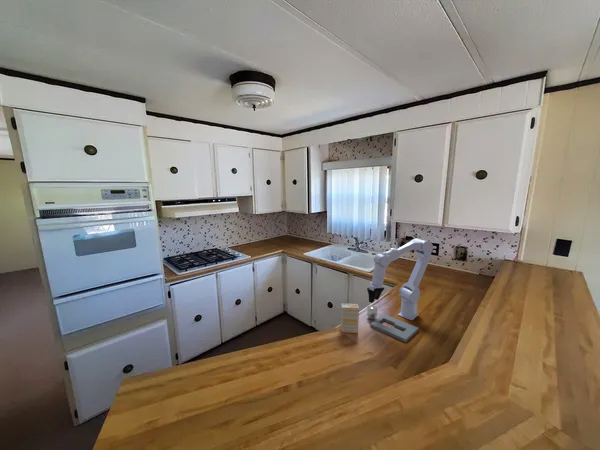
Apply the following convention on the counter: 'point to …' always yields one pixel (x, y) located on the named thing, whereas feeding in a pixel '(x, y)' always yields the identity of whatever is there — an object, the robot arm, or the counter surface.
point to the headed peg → (372, 312)
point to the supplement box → (349, 318)
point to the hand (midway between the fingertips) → (373, 300)
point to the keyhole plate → (403, 336)
